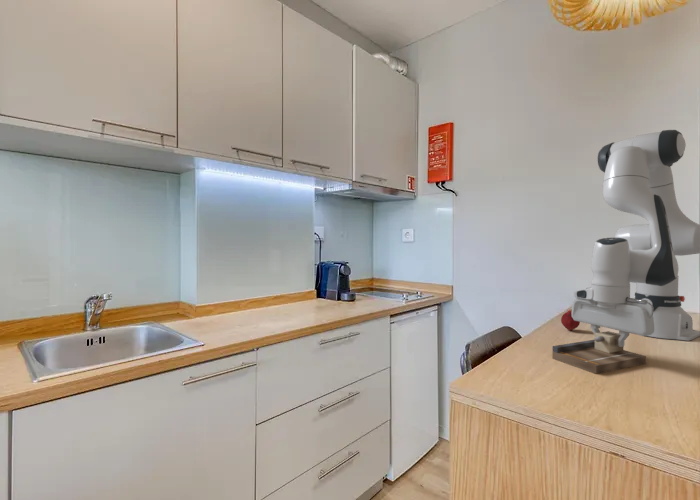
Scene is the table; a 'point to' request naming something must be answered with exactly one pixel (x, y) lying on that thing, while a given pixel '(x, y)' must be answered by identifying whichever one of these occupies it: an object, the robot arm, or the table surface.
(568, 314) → the onion
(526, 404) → the table surface
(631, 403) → the table surface
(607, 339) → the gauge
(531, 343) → the table surface
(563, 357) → the board
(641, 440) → the table surface
